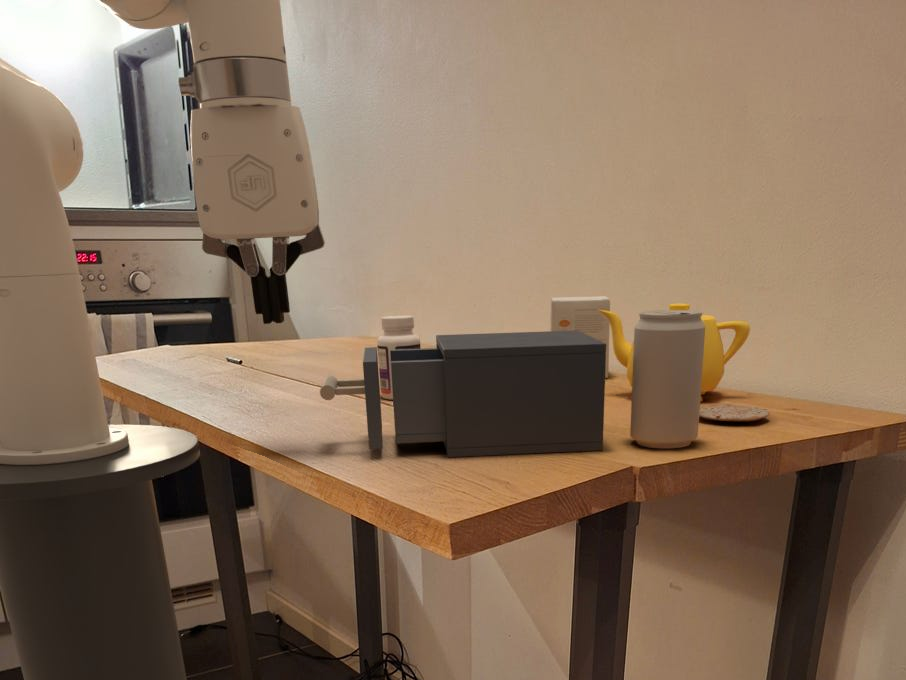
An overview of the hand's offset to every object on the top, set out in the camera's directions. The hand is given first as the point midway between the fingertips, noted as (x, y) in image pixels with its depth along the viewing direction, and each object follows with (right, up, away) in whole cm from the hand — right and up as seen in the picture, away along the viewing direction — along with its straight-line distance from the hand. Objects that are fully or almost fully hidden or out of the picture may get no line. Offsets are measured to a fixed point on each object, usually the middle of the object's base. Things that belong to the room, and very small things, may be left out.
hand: (274, 321), depth 83 cm
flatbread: (+46, -6, +14) cm, 48 cm away
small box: (+33, +8, +45) cm, 57 cm away
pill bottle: (+9, +2, +33) cm, 34 cm away
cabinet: (+23, -9, +7) cm, 25 cm away
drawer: (+13, -9, +6) cm, 17 cm away
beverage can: (+37, -11, +4) cm, 38 cm away
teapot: (+42, +1, +29) cm, 51 cm away
